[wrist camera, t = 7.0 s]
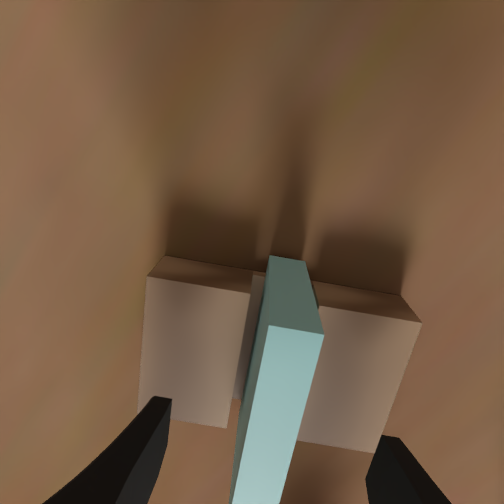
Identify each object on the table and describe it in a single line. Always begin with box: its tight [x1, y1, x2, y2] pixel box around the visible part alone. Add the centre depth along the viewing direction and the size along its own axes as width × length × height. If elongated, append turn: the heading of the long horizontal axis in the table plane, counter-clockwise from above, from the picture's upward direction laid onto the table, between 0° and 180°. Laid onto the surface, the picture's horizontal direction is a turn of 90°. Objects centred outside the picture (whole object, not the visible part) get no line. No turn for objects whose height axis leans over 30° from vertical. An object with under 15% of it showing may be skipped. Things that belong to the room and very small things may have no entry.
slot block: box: [137, 256, 422, 453], centre depth 17 cm, size 11×7×2 cm, turn 81°
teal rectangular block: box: [229, 255, 324, 504], centre depth 14 cm, size 2×9×6 cm, turn 170°
